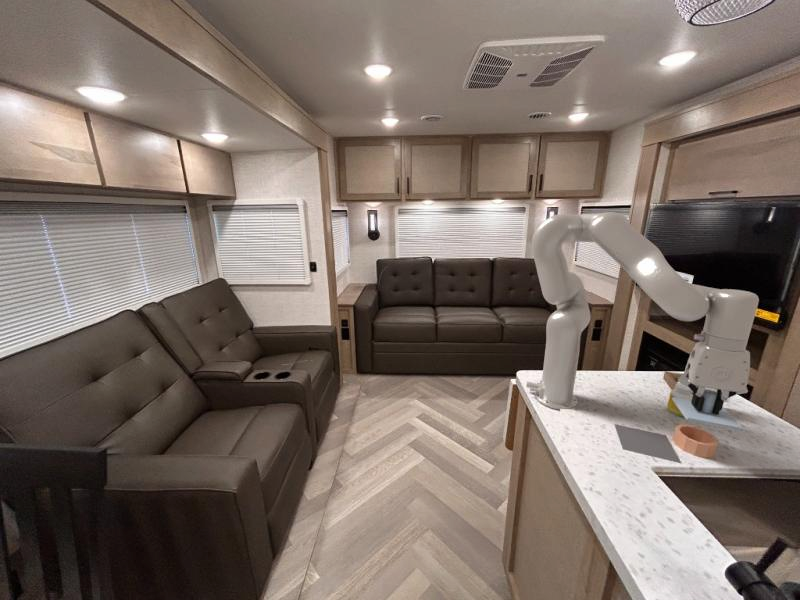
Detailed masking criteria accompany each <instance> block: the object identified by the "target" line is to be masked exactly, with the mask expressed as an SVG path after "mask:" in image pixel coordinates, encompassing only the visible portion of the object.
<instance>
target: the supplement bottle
mask: <svg viewBox="0 0 800 600" xmlns="http://www.w3.org/2000/svg"><path fill="white" fill-rule="evenodd" d="M692 393H693V391H692V390H691V389H690V388H689V387H687V386H685V385H683V384H681V383H677V384H676V385H675V389H673V390H671V391H670V393H669V398H668V401H667V405H666V411H667V412H669V414H671V415H674V416H676V417H679V418H685V417H684V415H683V414H682V413H681V411H680V410H679V408H678V407H677V406H676V404H675V403H674V401H673V400H672V397H676V398H682V399H688V400H692V397H693V395H692Z"/></svg>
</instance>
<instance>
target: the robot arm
mask: <svg viewBox="0 0 800 600" xmlns="http://www.w3.org/2000/svg"><path fill="white" fill-rule="evenodd" d="M570 242H571V243H573V242H575V243H576V242H577V243H581V242H582V243H595V244H597V246H598V247H600V249H601V250H603V251H604V252H605V253H606V254H607V255H608V256H609V257H610V258H612V260H614V261H615V262H616V263H617V264H618V265H619V266H620V267H622V268H623V270H624V271H625V272H626V273H627V274H628V275H629V277H630V278H631V279H632V280H633V281H634V282H635V283H636V284H637V285H638V287H640V288H641V289H642V291H643V292H644V293H645V294H646V295H647V296H648V297H649V298H650V299H651V300H653V302H655V304H657V306H659V307H660V308H661V309H662V311H664V312H665V313H666V314H668V315H669V316H671V317H672V318H673V319H676V320H678V321H682V322H694V321H698V320H700V319H702V318H704V317H705V320H704V325H703V329H702V330H701V333H698V334H697V333H695V334H694V336H693V339H694V340H696V341H697V342H696V343H695V345H694V347H693V348H692V350H691V352H690V355H689V357H688V359H687V363H686V365H685V369H684V372H683V373H681V374H682V375H681V376H680V377H679V378H678V381H679V382H680V383H681V384H683V385H685V386H687V387H689V388H690V389H691V390H692V391H693V392H694V393H693V397H692V401H691V404H692V405H693V406H694V408H695V409H696V410H697V411H699V412H701V411H702V408H703V404H704V400H705V398H704V397H703V393H704V390H705V387H706V388H712V389H716V393H717V397H716V401H715V404H714V408H713V413H714V414H716V415H718V414H719V411H720V410H722V407H723V408H724V403H725V402H727V401H728V399H730V398H731V397H733V396H736V395H742V394H747V393H748V392H749V390H748V388H747V385H748V383H749V376H750V370H751V352H750V351H749V350H747V349H746V348H747V345H748V341H749V337H750V333H751V331H752V327H753V323H754V320H755V316H756V313H757V309H758V305H759V302H760V299H759V296H758V295H757V294H756V293H754V292H751V291H748V290H747V291H746V290H743V289H742V290H741V289H731V288H729V289H728V288H722V289H720V288H714V287H708V286H704V285H700V284H694V283H689V282H688V281H687V280H686V279H684V278H683V277H682V276H681V275H680V274H679V273H678V272H677V271H676V270H675V269H674V268H673V267H672V266H671V265H670V264H669V263H668V261H667V260H666V258H665V256H664V254H663V253H662V251H661V250H660V249H659V248H658V247H657V245H655V244H654V243H653V242H651V241H650V240H649V239H648V238H646V236H644V235H643V234H642V233H641V232H639V231H638V230H637V229H636V228H635V227H634V226H633V225H631V224H630V222H629V219H628V217H626V216H625V215H624V214H622V213H619V212H616V211H615V212H614V211H609V212H607V211H606V212H602V213H581V214H580V213H579V214H578V213H577V214H576V213H575V214H573V213H572V214H571V213H570V214H568V213H567V214H565V213H559V214H554V215H552V216H549V217H547V218H545V220H544V221H542V223H540V224H539V225H538V227H537V228H536V229H535V231H534V233H533V235H532V239H531V251H532V257H533V260H534V263H535V268H536V272H537V277H538V281H539V284H540V285H539V286H540V288H541V289H540V290H541V292H542V296H543V298H544V299H545V301H546V302H547V303H548V304H550V305H553V306H554V305H555V306H556V310H555V311H554V312H552V313H551V314H550V315H549V316H548V318H547V321H546V326H545V327H546V329H545V331H546V332H545V333H546V335H545V336H546V339H545V340H546V341H545V351H544V359H543V360H544V361H543V369H542V376H541V380H540V382H533V381H531V382H530V381H526V388H528V389H529V391H530V392H535V393H534V397H535V399H536V400H537V401H538V402H539V403H541V404H542V405H544V406H546V407H547V408H551V409H554V410H561V409H563V410H568V409H573V408H575V407H576V406H577V405H578V399H577V397H576V396H575V395H574V390H575V383H576V376H577V371H578V363H579V357H580V348H581V347H580V346H581V336H582V332H583V331H584V330H585V329H586V328H587V327H588V325H589V324H590V321H591V310H590V306H589V303H588V298H587V294H586V292H585V287H584V284H583V281H582V279H581V278H580V277H579V276H578V274H577V273H574V272H572V271H570V270H569V268H568V264H567V259H566V256H565V254H564V252H563V249H562V247H563V244H565V243H570ZM688 380H689V381H690V382H689V381H688Z"/></svg>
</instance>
